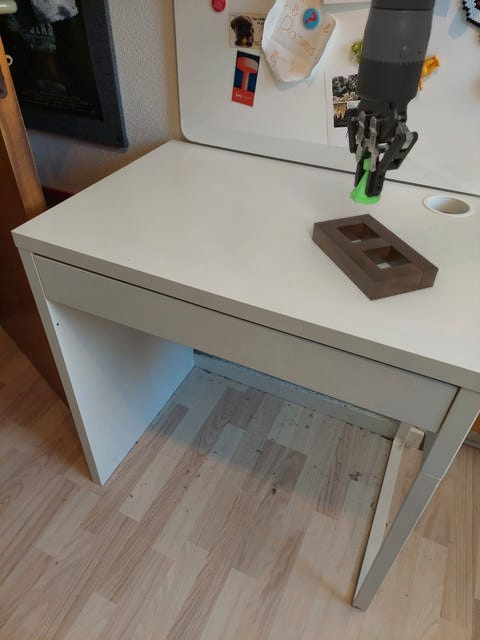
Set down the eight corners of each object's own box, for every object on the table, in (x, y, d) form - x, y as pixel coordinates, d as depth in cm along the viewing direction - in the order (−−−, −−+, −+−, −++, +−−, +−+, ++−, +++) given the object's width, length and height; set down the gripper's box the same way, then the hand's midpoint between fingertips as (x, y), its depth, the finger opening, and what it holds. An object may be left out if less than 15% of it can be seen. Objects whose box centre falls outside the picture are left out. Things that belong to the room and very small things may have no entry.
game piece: (363, 189, 68) (371, 149, 64) (386, 199, 65) (395, 157, 61) (343, 196, 66) (350, 155, 62) (366, 207, 63) (374, 164, 59)
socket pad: (365, 229, 76) (368, 213, 74) (432, 286, 63) (439, 268, 61) (311, 239, 73) (313, 222, 71) (371, 300, 61) (375, 282, 59)
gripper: (458, 62, 50) (418, 208, 61) (386, 43, 60) (363, 171, 71) (401, 66, 48) (370, 216, 59) (336, 45, 58) (320, 177, 69)
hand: (366, 191), depth 65 cm, fingers closed on game piece, 2 cm apart
